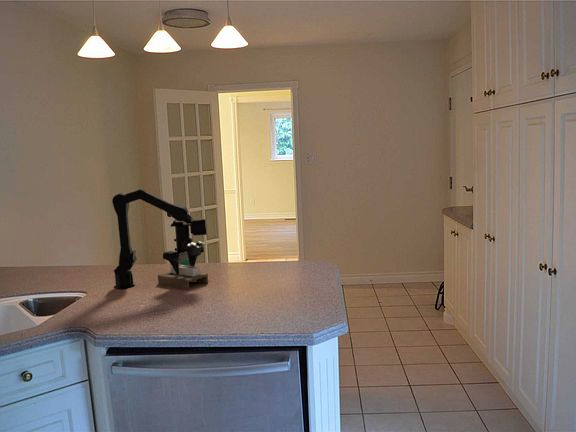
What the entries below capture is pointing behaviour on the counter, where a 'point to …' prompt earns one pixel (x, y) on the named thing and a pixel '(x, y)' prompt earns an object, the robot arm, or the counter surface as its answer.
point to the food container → (184, 260)
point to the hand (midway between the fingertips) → (185, 271)
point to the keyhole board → (180, 279)
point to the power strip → (187, 271)
